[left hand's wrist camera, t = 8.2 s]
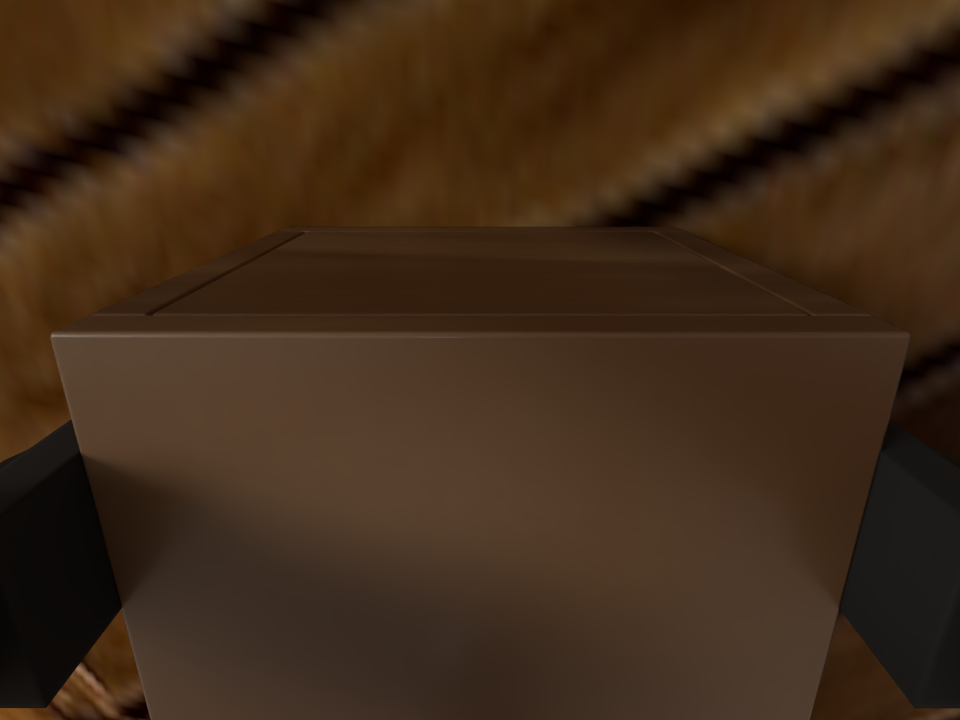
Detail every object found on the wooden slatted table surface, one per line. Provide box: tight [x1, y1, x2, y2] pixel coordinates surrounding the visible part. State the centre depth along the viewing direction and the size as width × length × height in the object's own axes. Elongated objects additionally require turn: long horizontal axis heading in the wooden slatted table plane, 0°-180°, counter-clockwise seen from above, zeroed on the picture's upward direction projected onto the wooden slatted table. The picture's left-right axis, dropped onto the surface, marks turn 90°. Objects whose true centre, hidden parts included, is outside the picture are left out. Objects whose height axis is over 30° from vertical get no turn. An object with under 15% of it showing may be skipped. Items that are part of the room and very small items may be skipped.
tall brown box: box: [50, 227, 911, 720], centre depth 15 cm, size 18×11×10 cm, turn 0°
